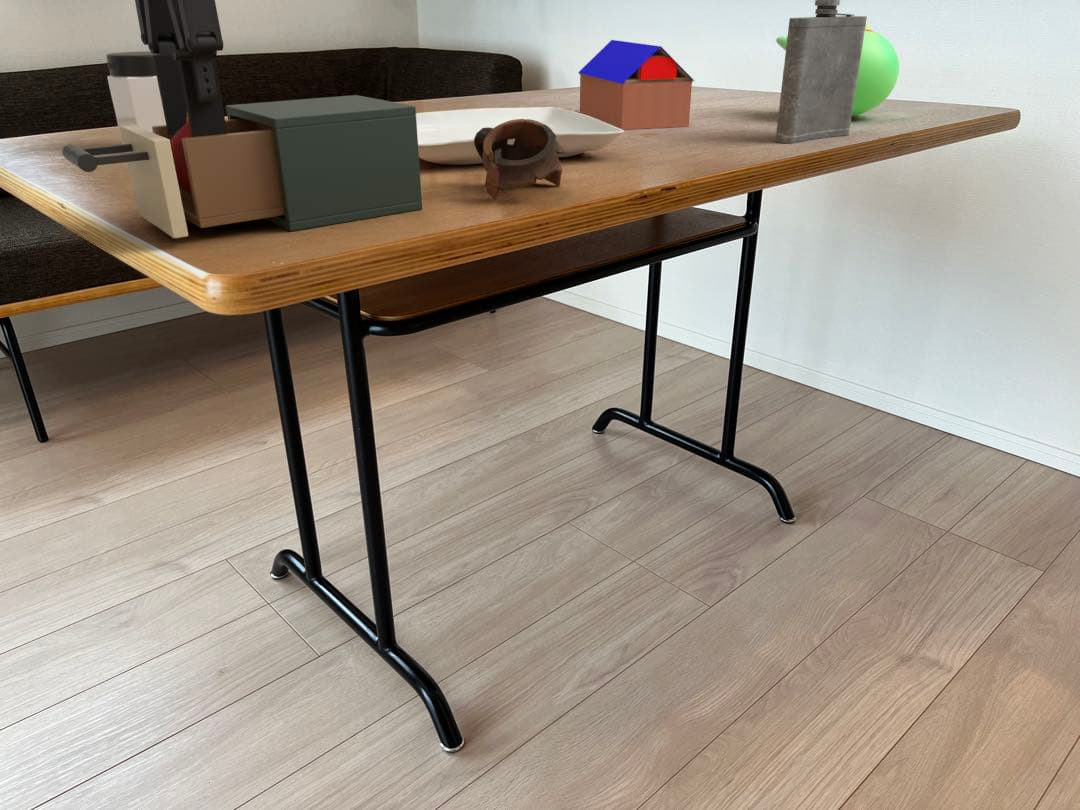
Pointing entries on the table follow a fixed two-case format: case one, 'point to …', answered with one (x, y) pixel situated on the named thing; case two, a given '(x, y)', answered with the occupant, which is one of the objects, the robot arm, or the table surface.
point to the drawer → (196, 175)
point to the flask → (820, 74)
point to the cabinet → (341, 157)
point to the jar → (135, 90)
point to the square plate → (455, 130)
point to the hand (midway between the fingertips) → (197, 137)
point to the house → (635, 87)
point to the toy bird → (871, 71)
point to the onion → (181, 156)
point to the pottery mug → (518, 155)
